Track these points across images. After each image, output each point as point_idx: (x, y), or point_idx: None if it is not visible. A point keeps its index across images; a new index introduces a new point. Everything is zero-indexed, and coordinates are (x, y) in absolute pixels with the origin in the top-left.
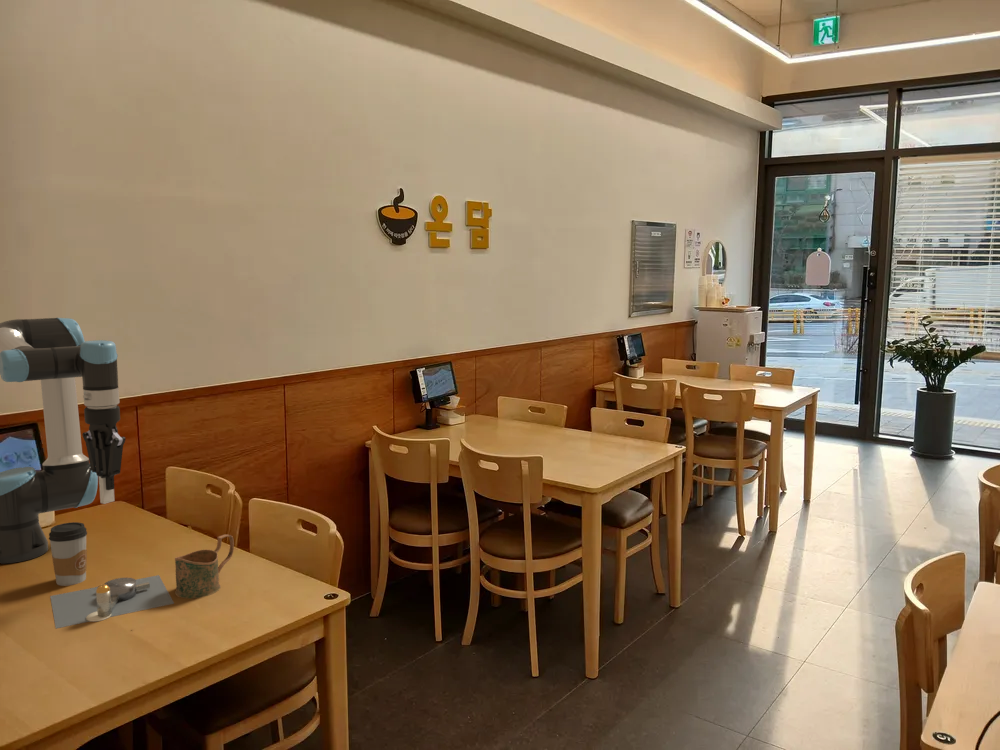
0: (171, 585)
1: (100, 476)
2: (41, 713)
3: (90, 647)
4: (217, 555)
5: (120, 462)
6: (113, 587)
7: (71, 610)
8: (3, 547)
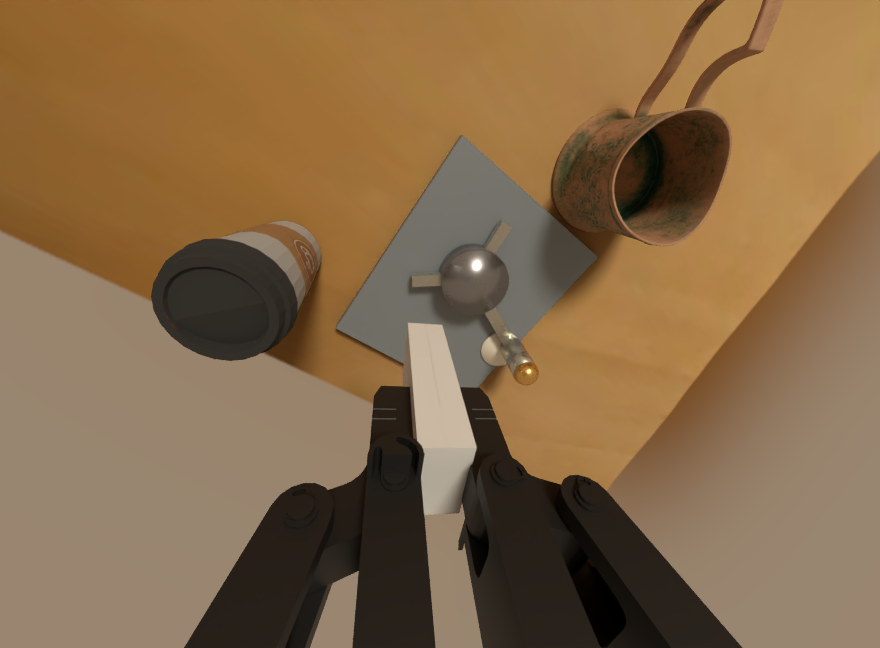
0: (514, 156)
1: (459, 541)
2: None
3: (545, 395)
4: (730, 137)
5: (721, 636)
6: (480, 304)
7: None
8: None
